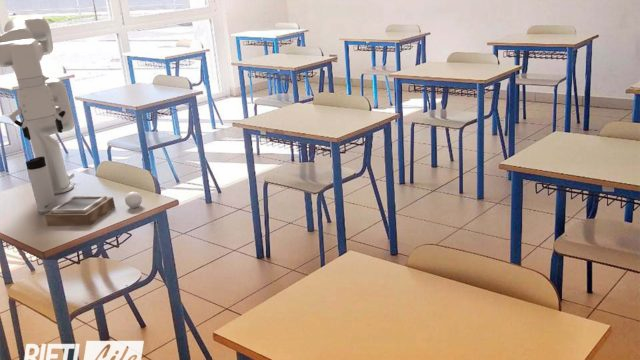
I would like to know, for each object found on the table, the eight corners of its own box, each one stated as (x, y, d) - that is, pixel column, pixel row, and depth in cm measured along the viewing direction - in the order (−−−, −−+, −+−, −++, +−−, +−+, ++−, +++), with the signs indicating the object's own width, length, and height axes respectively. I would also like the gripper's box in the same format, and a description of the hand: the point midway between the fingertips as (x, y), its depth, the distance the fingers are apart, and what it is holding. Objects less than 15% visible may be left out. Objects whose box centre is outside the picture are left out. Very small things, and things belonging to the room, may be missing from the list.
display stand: (75, 207, 229) (72, 194, 227) (115, 207, 224) (112, 194, 223) (47, 225, 214) (43, 212, 212) (89, 225, 210) (86, 211, 208)
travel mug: (51, 214, 225) (37, 160, 218) (35, 214, 226) (20, 160, 220) (61, 207, 230) (48, 154, 224) (45, 208, 232) (32, 155, 225)
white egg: (145, 207, 221) (141, 192, 220) (128, 211, 219) (125, 196, 217) (140, 201, 228) (137, 186, 226) (124, 205, 226) (121, 190, 224)
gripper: (56, 76, 206) (69, 127, 212) (-1, 86, 197) (13, 140, 203) (62, 78, 201) (75, 131, 206) (3, 89, 192) (18, 144, 197)
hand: (44, 135), depth 205 cm, fingers open, 9 cm apart
